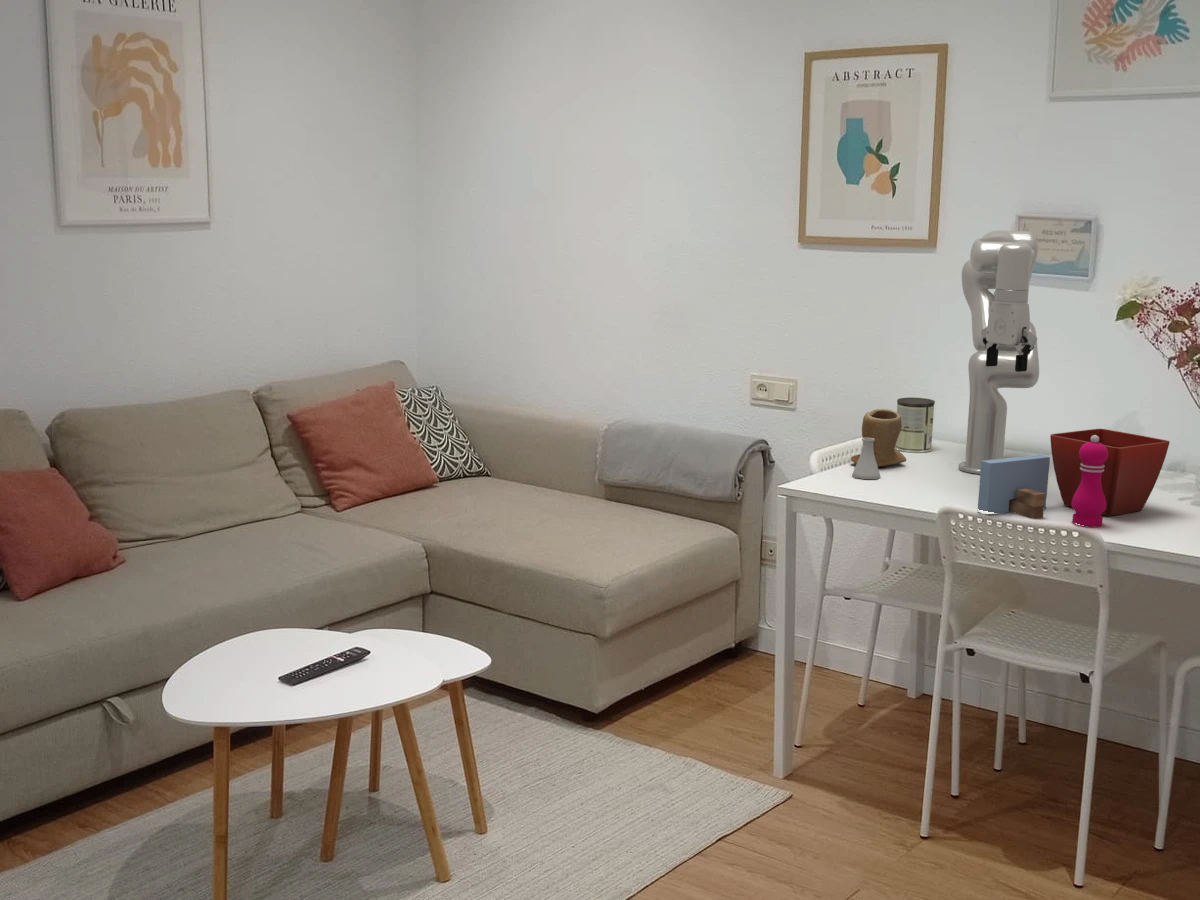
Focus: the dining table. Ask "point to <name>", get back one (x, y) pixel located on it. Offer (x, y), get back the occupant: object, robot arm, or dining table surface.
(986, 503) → the blue notched block
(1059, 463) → the plant pot
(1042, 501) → the walnut u-shaped block
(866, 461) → the flask
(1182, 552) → the dining table surface
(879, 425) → the stone cup
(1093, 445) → the pepper mill
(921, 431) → the coffee can
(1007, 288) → the robot arm
